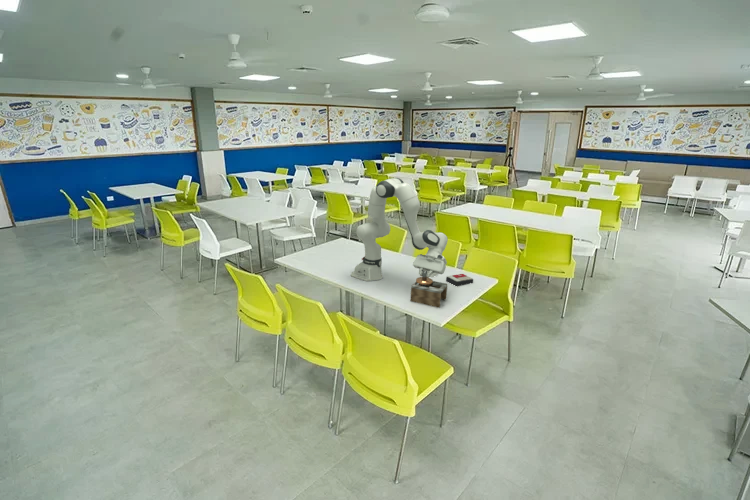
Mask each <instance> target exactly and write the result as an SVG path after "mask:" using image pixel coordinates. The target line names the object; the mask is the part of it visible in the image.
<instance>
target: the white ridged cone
mask: <svg viewBox="0 0 750 500" xmlns="http://www.w3.org/2000/svg"><path fill="white" fill-rule="evenodd" d="M424 271H426V270H424ZM422 272H423V271H422ZM420 273H421V271H420V269H418V275H419V274H420ZM429 273H430V271H427V274H429ZM436 275H437V276H438V273H434V272H433V274H432V275H430V276H429V277H431V278H435V277H434V276H436ZM437 276H436V277H437Z"/></svg>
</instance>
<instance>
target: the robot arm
mask: <svg viewBox="0 0 750 500" xmlns="http://www.w3.org/2000/svg"><path fill="white" fill-rule="evenodd" d="M393 197H395V198H397V199H398V201H399V204H400V206H401V208H402V211H403V215H404V219H405V222H406V225H407V229H408V231H409V234H410V237H411V244H412V246H413V247H414V249H415V250H419V251H422V250H424V249H426V248H427V249H428V250H427V252H426V253H425V254H417V255H416V257H415V259H414V260H413V262H412V266H413V267H414V268H415V269H418V270H419V269H420V271H421V273H420V275H419V276H420V277H422V273H423V272H422V271H424V270H426V271H430V273H429V274H426V277H427V278H429V276H430V275H432V274H433V272H434V273H437V275H443V274H444V273H445V271H446V268H447V266H446V265H447V263H448V261H447V260H446V258H445V257H444V255H443V252H444V251H445V250H446V248H447V247H446V246H447V245H448V236H447V235H446V234H445V233H443V232H435V231H432V230H430V229H426V230H424V231H422V232H421V230H420V228H419V224H418V222H417V215H418V213H419V212H420V208H421V203H420V199H419V198H418V195H417V193H416V192H415V191H414V189H413V186H412V185H410V184H409V183H408V182H404V181H403V179H402V178H399V177H393V178H388V179H385V180H381V181H380V182H378V183H377V184H376V186H374V187H372V188H371V191H370V194H369V200H368V207H367V213H368V216H369V217H370V218H371V219H372V222H365V223H362V224H360V225H358V226H357V228H356V231H355V233H356V236H357V238H358V239H359V240H361V241H362V243H363V246H364V256H363V257H362V258H361V261H362V262H360V263H358V264H357V265H356V266H355V267H354V271H352V272H351V273H350V277H352V278H356V279H359V280H361V281H364V282H365V281H366V282H372V281H379V280H382V279H383V278H384V276H383V273H382V263H383V262H382V247H381V245H380V244H378V243H377V242H376V239H378V238H383V237H386V236H387V235H389V234H390V232H391V225H390V224H389V222H388V221H387V220H386V215H385V213H386V206H387V205H386V204H387V199H390V198H393Z"/></svg>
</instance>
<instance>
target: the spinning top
mask: <svg viewBox="0 0 750 500" xmlns="http://www.w3.org/2000/svg"><path fill="white" fill-rule="evenodd" d="M426 274H427V271H423V273H422V276H420V277H417V278H416V279H415V282H417V283H418V285H419V284H422V285H420V286H423V287H428V288H429V286H427V285H429V284H432V283H433V281H434V280H433V279H432V277H431V278H427V277H426Z"/></svg>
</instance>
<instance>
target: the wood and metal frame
mask: <svg viewBox="0 0 750 500" xmlns="http://www.w3.org/2000/svg"><path fill="white" fill-rule="evenodd" d="M420 285H422V284H419V283H417V282H416V281H415V282H413V284H412V285H411V286H410V288H411V289H410V302H413V303H418V304H421V305H426V306H430V307H435V308H440V307H441V300H447V295H448V283H444V282H441V281H435V280H433V283H432V284H429V285H427V286H429V288H428V287H423V286H420Z"/></svg>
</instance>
